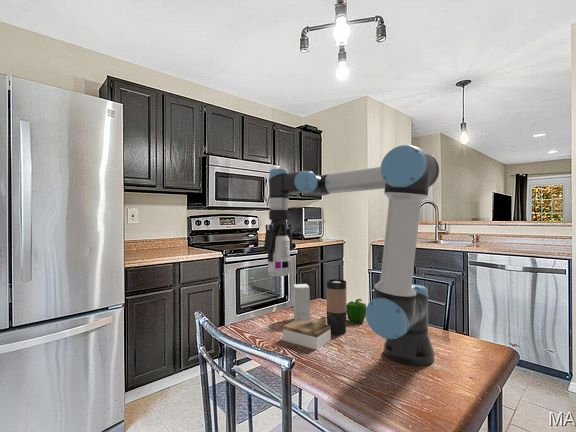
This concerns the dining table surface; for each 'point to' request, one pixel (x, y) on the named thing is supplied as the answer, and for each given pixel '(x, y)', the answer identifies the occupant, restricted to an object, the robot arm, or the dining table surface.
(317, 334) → the lid
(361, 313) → the bell pepper
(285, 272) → the supplement can
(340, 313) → the travel mug
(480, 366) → the dining table surface
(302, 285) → the skincare box
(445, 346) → the dining table surface
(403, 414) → the dining table surface
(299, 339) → the keepsake box
